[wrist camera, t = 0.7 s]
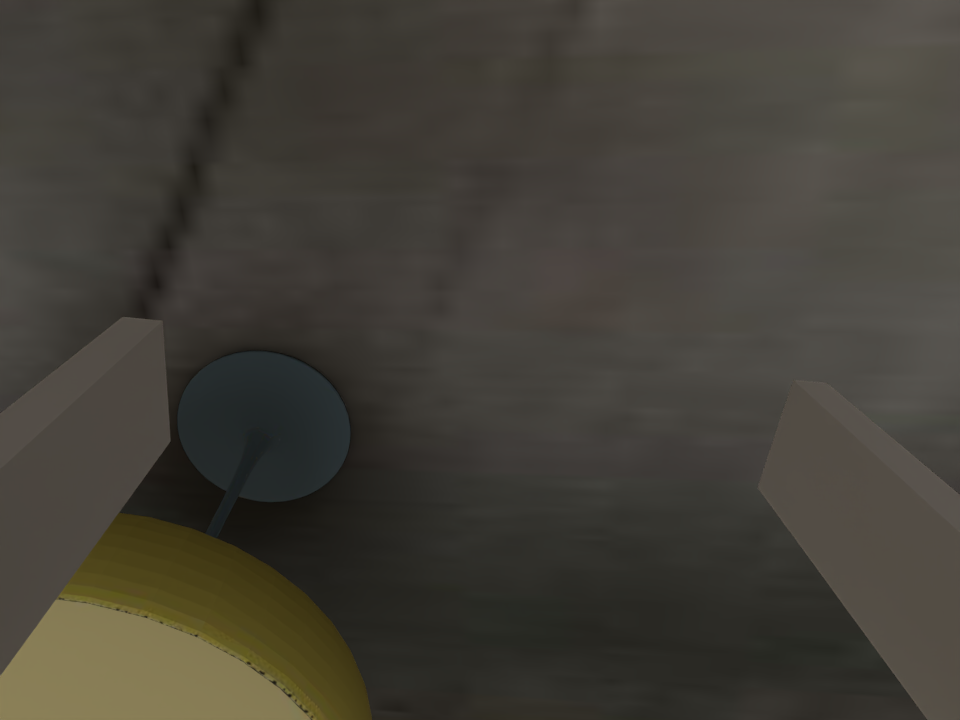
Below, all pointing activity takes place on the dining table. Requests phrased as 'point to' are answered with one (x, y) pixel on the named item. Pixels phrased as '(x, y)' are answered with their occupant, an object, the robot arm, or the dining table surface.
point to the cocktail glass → (204, 579)
